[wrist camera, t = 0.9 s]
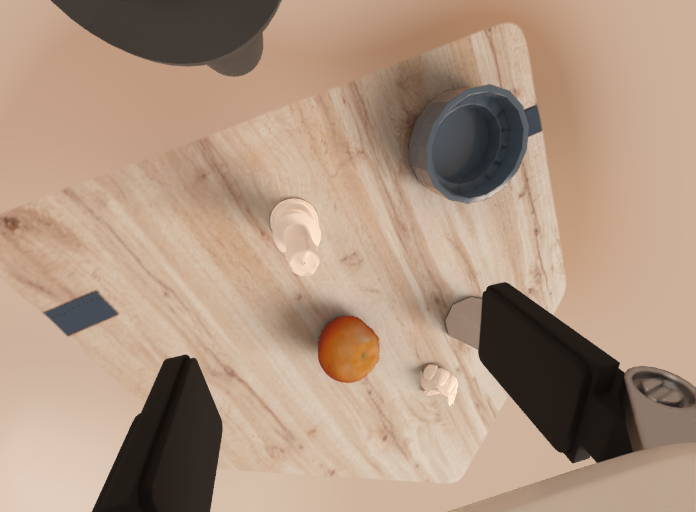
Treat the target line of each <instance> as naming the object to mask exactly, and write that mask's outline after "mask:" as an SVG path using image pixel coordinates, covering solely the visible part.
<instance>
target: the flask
mask: <svg viewBox="0 0 696 512" xmlns="http://www.w3.org/2000/svg"><path fill="white" fill-rule="evenodd" d="M481 309H482V299H480V298H474V297H470V298H467V299H465V300H463V301H460V302H458V303H456V304H453V306H452V308H451V310H450V312H449V314H448V316H447V318H446V320H445V322H446V326H447V330H448V335H449V336H451V337H453V338H455V339H458V340H460V341H462V342H464V343H466V344H468V345H470V346H472V347H474V348H476V349H478V350H479V337H480V323H481Z"/></svg>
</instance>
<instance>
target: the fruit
mask: <svg viewBox="0 0 696 512" xmlns="http://www.w3.org/2000/svg"><path fill="white" fill-rule="evenodd" d="M318 338H319V341H318V358H319V362H320V365H321V367H322V368H323V370H324V371H325V373H326V374H327V375H328V376H330V377H331V378H333V379H334V380H337V381H340V382H346V383H349V382H350V383H352V382H356V381H359V380H361V379H362V378H364V377H366V376H367V375H368V374H369V373H370V372H371V371H372V370H373V369H374V367H375V365H376V363H377V362H378V359H379V338H378V336H377V335H376V334H375V333H374V331H373V330H372V329H371V328H370V327H369V326H367V325H366V324H365V323H364V322H363V321H362V320H361V319H359V318H358V317H354V316H345V317H338V318H336V319H334V320H333V321H331V322H330V323H329V324H327V325H326V326H325V327H324V329H323V330H322V332H321V334H320V337H318Z"/></svg>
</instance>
